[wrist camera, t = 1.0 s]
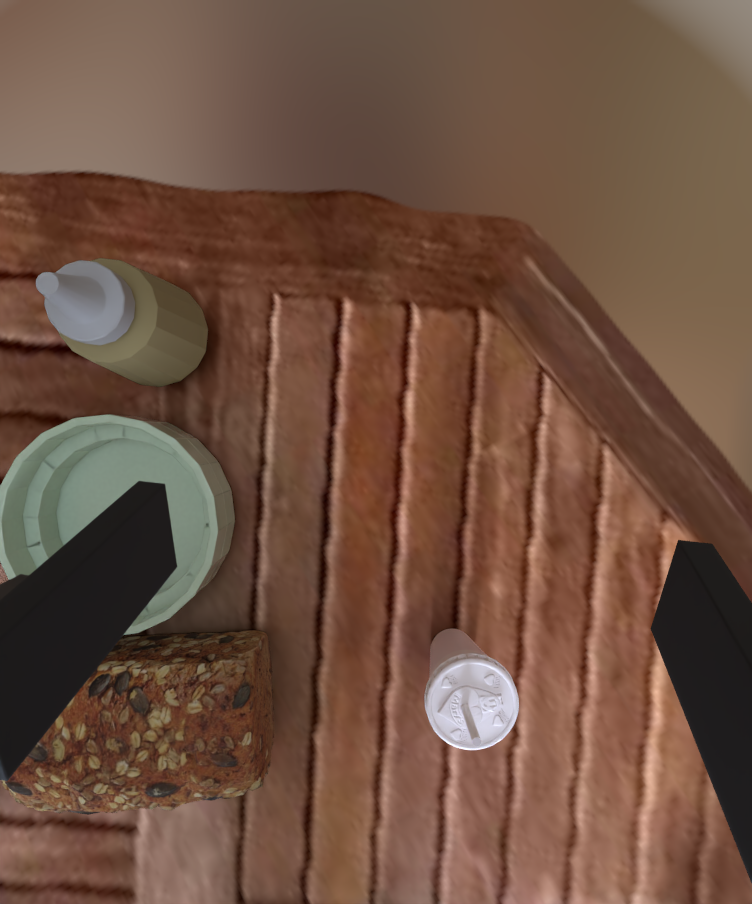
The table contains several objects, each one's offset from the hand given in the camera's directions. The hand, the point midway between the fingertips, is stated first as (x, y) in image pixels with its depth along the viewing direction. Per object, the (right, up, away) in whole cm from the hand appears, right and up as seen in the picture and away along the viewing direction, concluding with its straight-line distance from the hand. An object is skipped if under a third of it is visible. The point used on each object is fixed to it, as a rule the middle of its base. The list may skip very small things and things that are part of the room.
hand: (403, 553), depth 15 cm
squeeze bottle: (-18, +12, +32) cm, 38 cm away
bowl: (-21, -3, +32) cm, 38 cm away
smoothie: (+6, -14, +33) cm, 36 cm away
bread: (-18, -17, +33) cm, 42 cm away
